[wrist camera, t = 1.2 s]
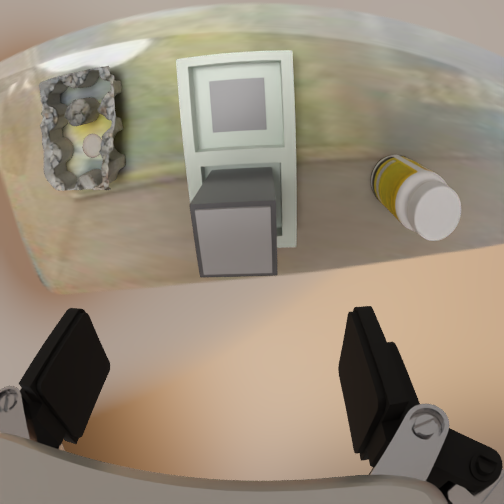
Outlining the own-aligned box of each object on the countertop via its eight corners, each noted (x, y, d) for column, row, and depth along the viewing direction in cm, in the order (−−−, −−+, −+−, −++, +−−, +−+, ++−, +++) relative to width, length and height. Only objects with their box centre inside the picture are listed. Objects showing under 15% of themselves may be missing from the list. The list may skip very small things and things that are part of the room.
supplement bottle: (370, 206, 27) (406, 250, 20) (368, 155, 25) (408, 183, 17) (416, 201, 26) (462, 241, 19) (416, 152, 24) (468, 178, 17)
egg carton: (129, 182, 27) (111, 197, 23) (64, 182, 27) (41, 196, 23) (129, 66, 22) (108, 63, 18) (59, 77, 22) (34, 78, 18)
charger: (211, 170, 24) (188, 205, 17) (271, 166, 24) (276, 201, 16) (217, 224, 26) (199, 279, 19) (273, 222, 26) (277, 277, 18)
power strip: (187, 63, 22) (174, 58, 18) (288, 56, 21) (292, 49, 18) (203, 232, 29) (196, 252, 25) (292, 229, 28) (296, 248, 25)
